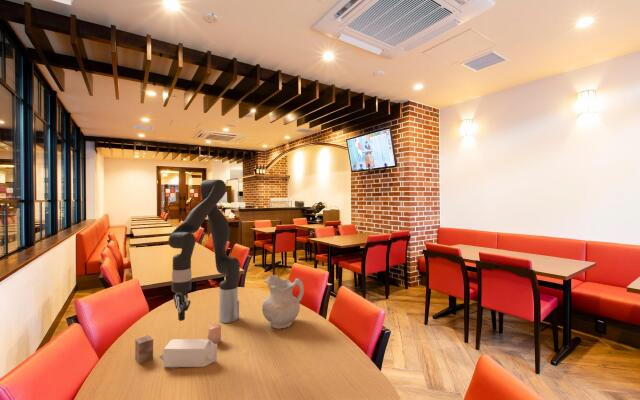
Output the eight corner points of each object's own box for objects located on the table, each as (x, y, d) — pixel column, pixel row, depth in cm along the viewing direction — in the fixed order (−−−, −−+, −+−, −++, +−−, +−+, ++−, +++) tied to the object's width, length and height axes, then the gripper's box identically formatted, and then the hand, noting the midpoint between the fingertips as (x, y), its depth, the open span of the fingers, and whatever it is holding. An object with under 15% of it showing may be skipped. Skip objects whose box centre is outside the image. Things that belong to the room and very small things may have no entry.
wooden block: (149, 354, 122) (149, 335, 122) (153, 359, 118) (153, 339, 118) (135, 359, 118) (135, 339, 118) (138, 364, 115) (139, 343, 114)
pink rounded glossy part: (217, 338, 136) (217, 323, 136) (223, 342, 132) (223, 327, 132) (205, 342, 132) (205, 326, 132) (211, 347, 128) (211, 331, 128)
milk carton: (171, 339, 119) (219, 339, 120) (170, 356, 119) (219, 356, 120) (163, 348, 111) (214, 348, 113) (162, 367, 112) (214, 367, 113)
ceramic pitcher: (306, 320, 160) (307, 273, 161) (300, 333, 140) (301, 280, 142) (267, 318, 162) (268, 272, 164) (256, 331, 142) (258, 279, 144)
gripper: (197, 280, 123) (197, 322, 123) (184, 274, 132) (184, 313, 132) (178, 284, 117) (178, 327, 117) (166, 277, 126) (166, 318, 127)
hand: (181, 319), depth 125 cm, fingers closed
